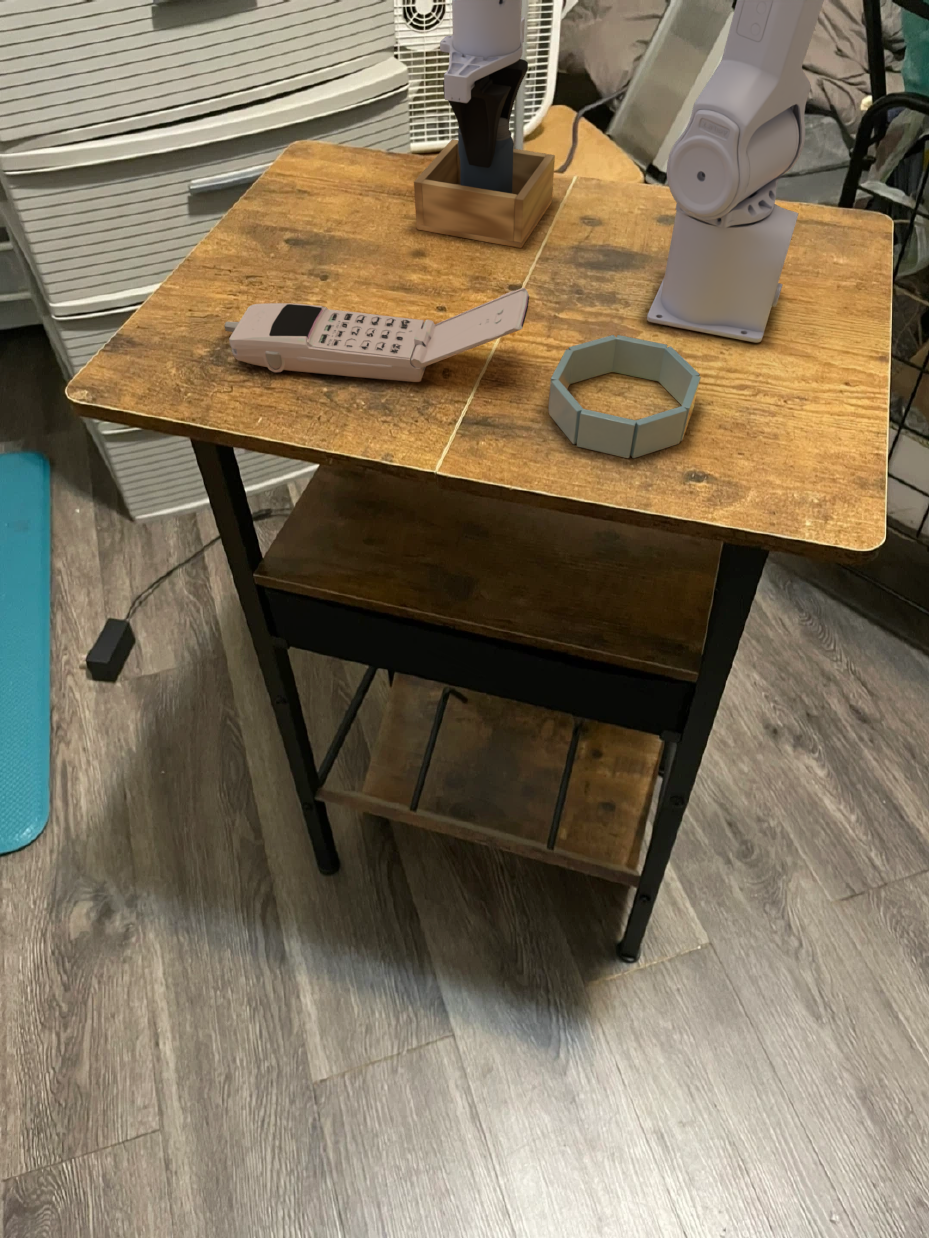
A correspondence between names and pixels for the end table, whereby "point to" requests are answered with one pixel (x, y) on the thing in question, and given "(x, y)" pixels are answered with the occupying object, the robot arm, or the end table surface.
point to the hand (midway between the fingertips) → (485, 158)
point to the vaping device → (500, 169)
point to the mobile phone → (366, 338)
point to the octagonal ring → (613, 430)
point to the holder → (484, 199)
